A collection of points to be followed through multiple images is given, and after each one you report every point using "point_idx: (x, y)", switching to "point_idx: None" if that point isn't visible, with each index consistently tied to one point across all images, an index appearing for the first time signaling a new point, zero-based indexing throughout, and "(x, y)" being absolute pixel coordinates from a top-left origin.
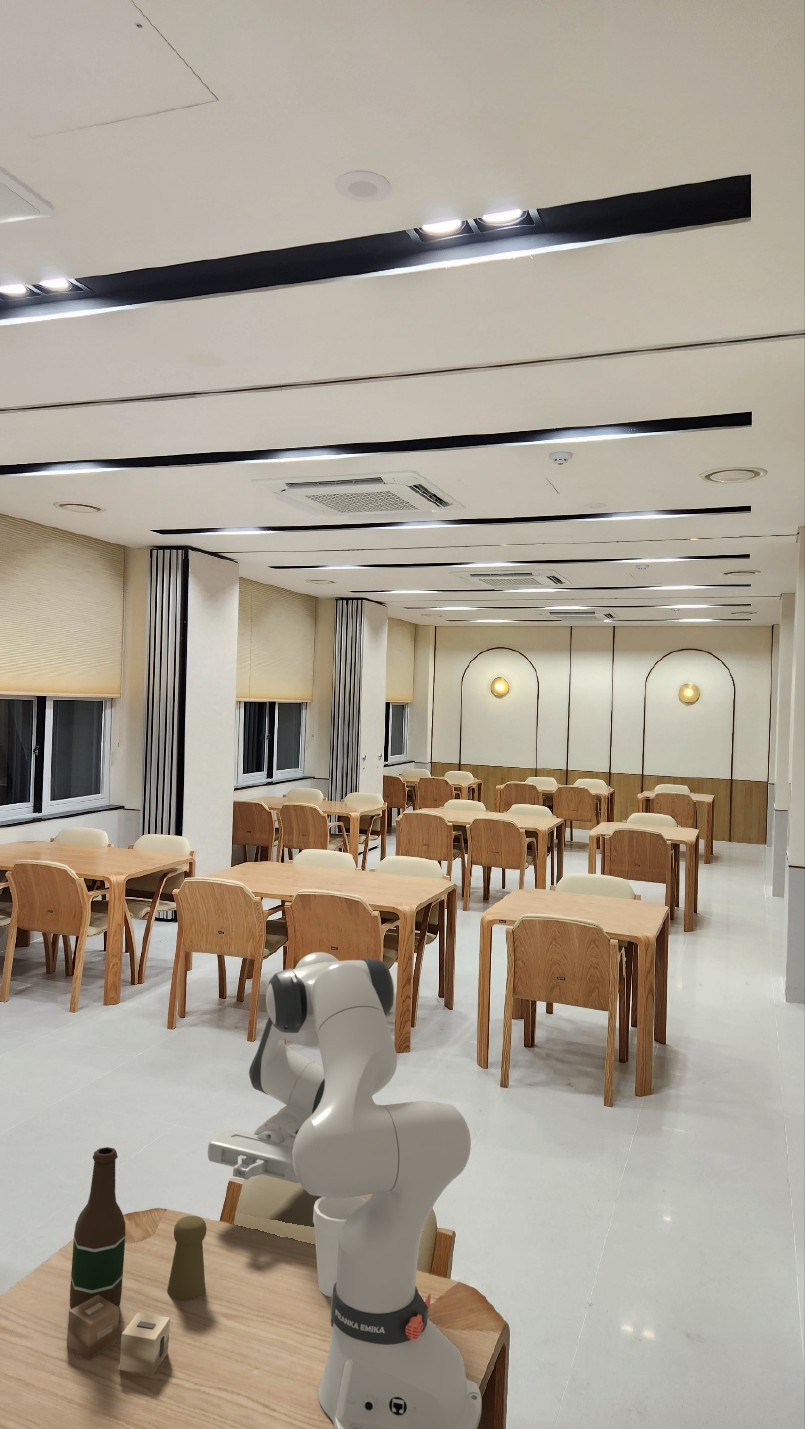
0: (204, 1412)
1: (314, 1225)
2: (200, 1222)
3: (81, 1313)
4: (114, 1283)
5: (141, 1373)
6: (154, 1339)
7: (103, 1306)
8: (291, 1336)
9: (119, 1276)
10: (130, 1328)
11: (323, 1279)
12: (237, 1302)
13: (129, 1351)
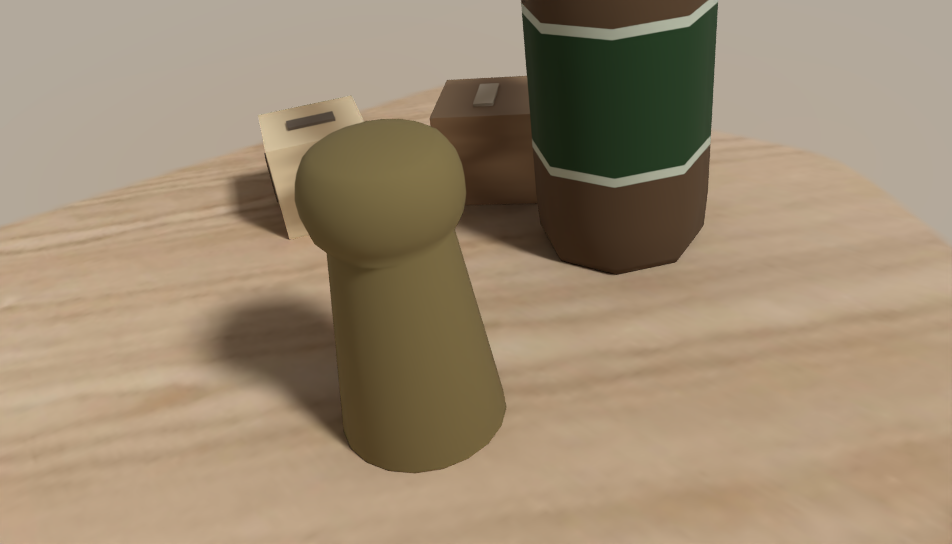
0: (110, 199)
1: None
2: (316, 156)
3: (502, 83)
4: (536, 147)
5: None
6: (259, 115)
7: (473, 105)
8: None
9: (544, 152)
10: (344, 107)
11: None
12: (172, 458)
13: None
